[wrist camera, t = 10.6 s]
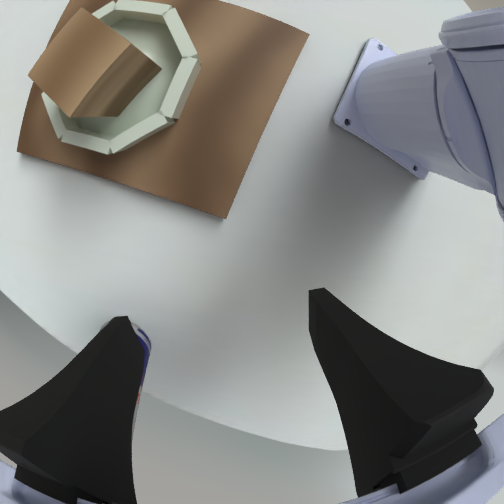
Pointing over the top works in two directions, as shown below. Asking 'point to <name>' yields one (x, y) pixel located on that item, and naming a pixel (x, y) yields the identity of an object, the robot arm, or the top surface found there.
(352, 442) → the robot arm
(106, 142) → the octagonal green bowl
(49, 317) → the top surface
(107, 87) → the brown wooden block
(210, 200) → the walnut board
